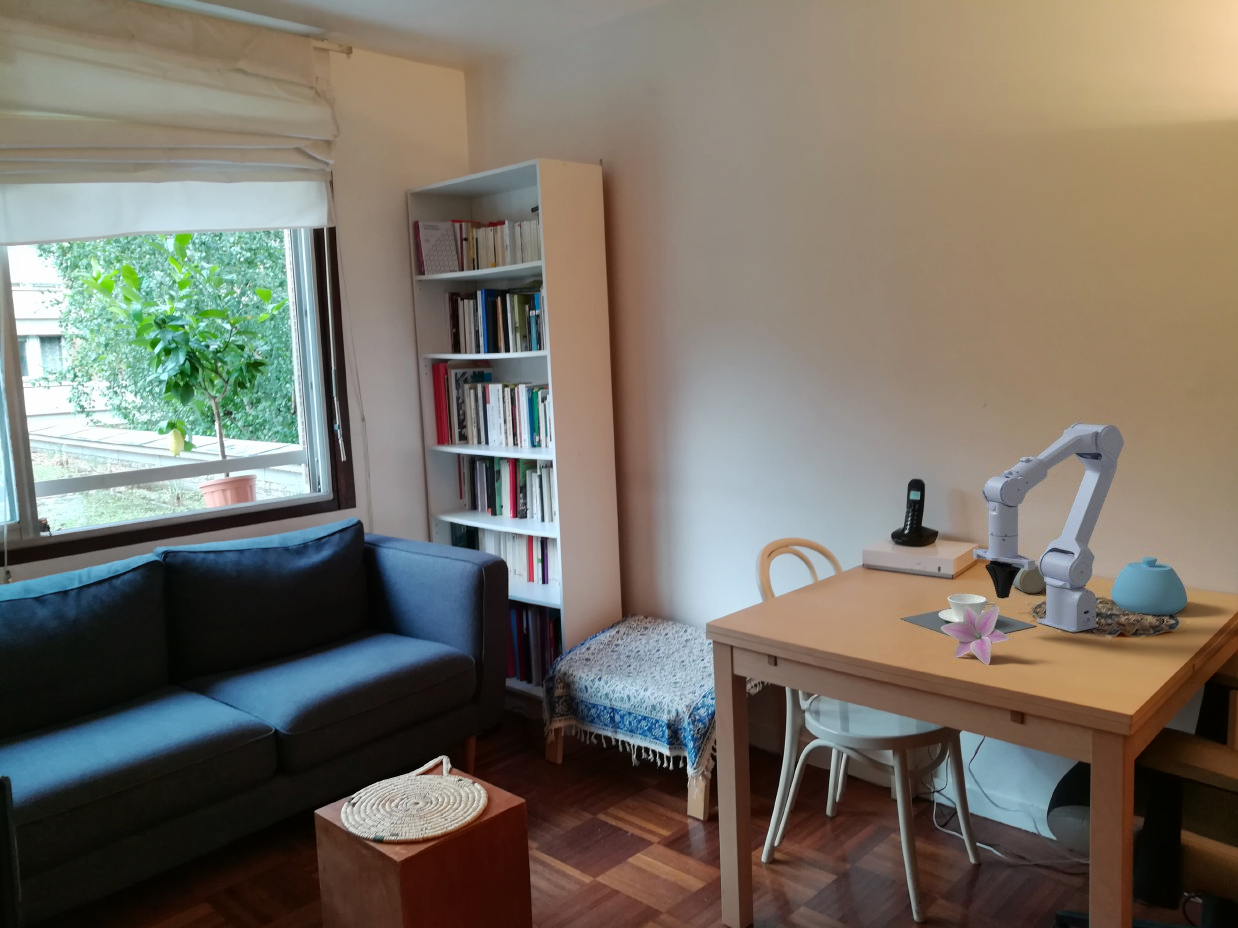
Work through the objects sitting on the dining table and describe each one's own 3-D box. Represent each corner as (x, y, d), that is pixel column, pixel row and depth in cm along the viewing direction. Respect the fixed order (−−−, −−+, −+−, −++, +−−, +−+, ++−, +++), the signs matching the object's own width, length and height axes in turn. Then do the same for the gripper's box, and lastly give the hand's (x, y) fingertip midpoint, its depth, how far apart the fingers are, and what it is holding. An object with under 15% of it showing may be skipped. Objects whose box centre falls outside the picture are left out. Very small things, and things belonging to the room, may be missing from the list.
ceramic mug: (1019, 595, 224) (1020, 564, 223) (1004, 587, 232) (1005, 557, 231) (1062, 594, 224) (1063, 563, 223) (1045, 585, 232) (1046, 556, 231)
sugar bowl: (1182, 620, 199) (1184, 568, 197) (1105, 611, 208) (1106, 561, 207) (1190, 604, 211) (1191, 554, 209) (1117, 596, 220) (1118, 548, 218)
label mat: (1036, 626, 199) (1036, 625, 199) (967, 641, 190) (967, 640, 190) (966, 605, 217) (966, 604, 217) (900, 618, 208) (900, 617, 208)
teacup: (1001, 630, 196) (1001, 605, 196) (942, 629, 199) (942, 605, 198) (990, 614, 208) (990, 591, 208) (935, 613, 211) (934, 591, 210)
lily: (935, 652, 188) (930, 619, 183) (980, 624, 190) (976, 590, 185) (979, 687, 178) (975, 652, 173) (1025, 656, 181) (1022, 621, 176)
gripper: (962, 531, 197) (962, 592, 199) (1017, 541, 184) (1017, 607, 185) (986, 527, 200) (986, 588, 201) (1042, 537, 187) (1042, 602, 188)
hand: (1002, 597), depth 194 cm, fingers closed
